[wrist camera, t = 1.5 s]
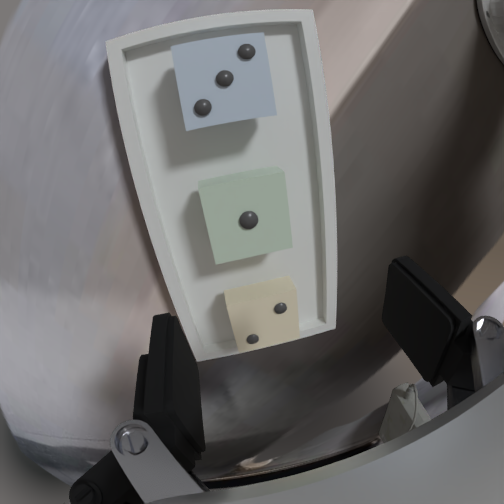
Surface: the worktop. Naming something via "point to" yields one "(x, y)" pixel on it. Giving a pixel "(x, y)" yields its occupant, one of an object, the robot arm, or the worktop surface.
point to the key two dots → (263, 313)
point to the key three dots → (223, 80)
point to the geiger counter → (402, 413)
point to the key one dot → (246, 213)
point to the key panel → (231, 169)
